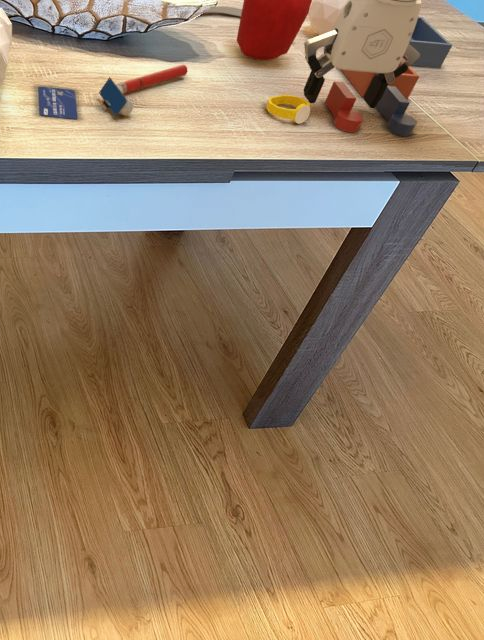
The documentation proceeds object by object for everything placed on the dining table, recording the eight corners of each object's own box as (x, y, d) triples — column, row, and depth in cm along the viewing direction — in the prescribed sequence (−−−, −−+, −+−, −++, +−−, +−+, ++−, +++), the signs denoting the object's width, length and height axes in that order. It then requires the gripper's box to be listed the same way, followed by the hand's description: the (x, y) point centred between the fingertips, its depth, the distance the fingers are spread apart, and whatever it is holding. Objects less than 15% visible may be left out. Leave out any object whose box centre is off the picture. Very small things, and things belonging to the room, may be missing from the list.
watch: (292, 87, 112) (321, 101, 108) (287, 105, 114) (316, 120, 110) (262, 94, 110) (291, 108, 106) (257, 112, 112) (286, 127, 108)
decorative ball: (278, 37, 137) (312, -31, 132) (328, 58, 139) (363, -8, 133) (293, 42, 129) (330, -30, 124) (346, 65, 131) (384, -6, 125)
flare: (115, 98, 108) (107, 93, 109) (186, 77, 115) (178, 73, 116) (117, 87, 107) (109, 82, 108) (189, 67, 114) (181, 62, 115)
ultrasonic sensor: (122, 125, 105) (137, 104, 103) (110, 120, 104) (125, 99, 102) (105, 101, 108) (119, 81, 106) (93, 96, 107) (107, 76, 105)
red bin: (407, 100, 119) (419, 76, 116) (362, 97, 118) (373, 72, 115) (377, 67, 127) (389, 43, 124) (335, 63, 126) (346, 39, 123)
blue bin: (440, 68, 130) (452, 45, 127) (399, 64, 129) (411, 41, 126) (411, 39, 138) (422, 16, 135) (372, 35, 137) (383, 13, 134)
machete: (164, 19, 128) (154, -2, 130) (159, 29, 130) (149, 8, 131) (282, 20, 137) (271, 0, 139) (275, 29, 139) (264, 10, 141)
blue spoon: (415, 137, 110) (427, 115, 108) (392, 135, 110) (404, 113, 107) (390, 107, 116) (401, 86, 114) (369, 106, 116) (379, 85, 113)
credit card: (77, 119, 103) (77, 119, 103) (39, 115, 102) (39, 115, 102) (74, 90, 108) (74, 90, 108) (38, 86, 108) (38, 86, 108)
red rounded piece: (252, 72, 120) (283, -15, 110) (215, 44, 126) (241, -41, 116) (301, 66, 124) (335, -19, 114) (263, 39, 130) (292, -44, 120)
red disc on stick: (361, 133, 109) (372, 111, 107) (338, 131, 109) (349, 109, 106) (340, 103, 115) (349, 82, 113) (318, 102, 115) (327, 80, 112)
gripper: (343, -12, 96) (292, 109, 109) (464, 1, 99) (402, 118, 111) (323, -33, 101) (277, 85, 114) (439, -21, 104) (381, 94, 116)
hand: (338, 101), depth 112 cm, fingers open, 9 cm apart
